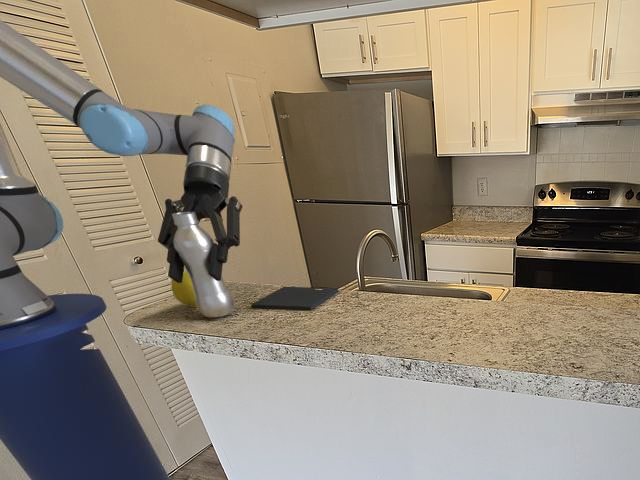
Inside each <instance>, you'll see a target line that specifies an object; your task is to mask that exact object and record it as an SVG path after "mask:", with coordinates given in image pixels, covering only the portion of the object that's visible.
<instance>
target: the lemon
mask: <svg viewBox="0 0 640 480" xmlns="http://www.w3.org/2000/svg"><path fill="white" fill-rule="evenodd" d="M170 285H171V286H170V287H171V291H172V294H173V296H174V297H175V299H176V300H177V301H178V302H179V303H181V304H182V305H185V306H190V307H192V308H198V307H197V304H196V299H195V296H196V295H195V292H194V289H193V285H192V282H191V279H190V276H189V273H188V272H187V271H186V272H185V271H184V272H183V279H182V283H177V282H176V281H174V280H173V279H171V283H170Z"/></svg>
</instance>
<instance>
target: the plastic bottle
mask: <svg viewBox="0 0 640 480" xmlns="http://www.w3.org/2000/svg"><path fill="white" fill-rule="evenodd" d="M172 217H173V219H174V224H175V225H177V227H178V229H177V231H176V233H175V236H174V240H173V242H174V247H175V249H176V250H177V253H178V254H179V256H180V258H181V260H182V262H183V263H184V268H185V269H186V272H187V273H189V276H190V279H191V282H192V285H193V289H194V292H195V295H196V296H195V299H196V304H197V307H196V308H197V309H198V311H199V312H200V314H201V315H203V316H204V317H206V318H220V317H224V316H227V315H230V314H231V313H233V312H234V311H235V308H236V304H235V300H234V296H233V295H232V293H231V291H230V290H229V289H228V286H227V284H226V282H225V280H224V277H223V275H222V276H221V281H216V280H215V279H214V278H213V277H211V276H210V275H209V274H208V273H209V265H210V256H211V247H212V243H215V240H214V239H213V238H212V236H211V235H210V234H209V233H208V232H207V231H206V230H205V229H203V228H202V227H201V226H200V225H199V224H200V222H199V221H198V219H197V216H196V213H195V212H180V213H174V214H172ZM198 223H199V224H198Z"/></svg>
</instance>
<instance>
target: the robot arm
mask: <svg viewBox="0 0 640 480" xmlns="http://www.w3.org/2000/svg"><path fill="white" fill-rule="evenodd" d="M0 78H1V79H3V80H5V81H7V82H8V83H9V84H11V85H12V86H14V87H15V88H16V89H18V90H20V91H21V92H23V93H25V94H26V95H28V96H29V97H31V98H33V99H34V100H35V101H37V102H39V103H41V104H42V105H43V106H45V107H47V108H49V109H50V110H52V111H53V112H55V113H56V114H58V115H60V116H61V117H62V118H63V119H66V120H67V121H68V122H71V123H72V124H73V125H75V126H76V127H78V128H80V129H81V130H82V134H83V135H84V136H85V137H86V139H87V140H88V141H89V142H90V143H91V144H92V145H93V146H94V147H95V148H97V149H99V150H100V151H102V152H104V153H107V154H110V155H114V156H115V155H116V156H120V157H136V156H143V155H162V154H163V155H175V156H186V161H185V170H184V176H183V182H182V183H183V184H182V185H183V193H182V196H181V197H180V199H177V200H172V199H171V198H167V199H165V200H164V204H165V206H164V207H165V212H164V215H163V219H162V223H161V227H160V230H159V234H158V238H157V242H158V243H159V244H160V245H161V246H163V247H164V248H165V249H166V250H167V255H166V262H167V263H168V264H169V265H168V274H167V277H168V278H169V279H171V280H172V279H173V280H174V281H176V282H177V283H182V279H183V272H185V265H184V263H183V262H182V260H181V258H180V256H179V254H178V253H177V250H176V249H175V247H174V242H173V240H174V236H175V233H176V231H177V229H178V227H177V225H175V224H174V219H173V217H172V214H174V213H180V212H195V213H196V216H197V219H198V221H199V223H198V225H199V224H200V222H201V220H203V219H209V221H210V224H211V227H212V230H213V233H214V243H212V247H211V256H210V265H209V273H208V274H209V275H210V276H211V277H213V278H214V279H215V280H216V281H221V276H222V277H223V275H222V274H223V265H224V264H226V263H227V262H228V257H229V250H230V248H231V247H239V246H240V245H241V229H240V228H241V225H240V224H241V221H240V219H241V218H240V214H241V212H242V210H243V205H242V203H241V202H240V200H239V199H238V198H237V197H236V196H234V195H232V196H230V197H229V192H230V180H231V171H232V161H233V153H234V147H235V146H234V145H235V141H236V139H235V123H234V121H233V119H232V118H231V116H230V115H229V114H228V113H227V112H226V111H224V110H223V109H221V108H220V107H217V106H214V105H211V104H201V105H198V106H196V107H195V108H194V110H193V112H192V114H191V115H189V114H174V113H168V112H167V113H166V112H159V111H150V110H145V109H137V108H131V107H127V106H125V105H124V104H122V103H121V102H119V101H118V100H117V99H115V98H114V97H112V96H111V95H110V94H108V93H106V92H105V91H103V90H102V89H101V88H99V87H98V86H97V85H95V84H94V83H92V82H91V81H89V80H88V79H87V78H86V77H84V76H82V75H81V74H79V73H78V72H76V71H75V70H73V68H71V67H69V66H67V65H66V64H65V63H63V62H62V61H60V60H59V59H57V57H55V56H53V55H52V54H51V53H49V52H48V51H46V50H45V49H44V48H43V47H40V46H39V45H37V44H36V43H35V42H34V41H32V40H30V39H29V38H27V37H26V36H25V35H23V34H22V33H21V32H19V31H17V30H16V29H15V28H13V27H12V26H10V25H9V24H8V23H6V22H5V21H3V20H2V19H0ZM225 208H226V229H225V225H224V218H223V216H222V211H224V210H225ZM63 230H64V219H63V217H62V214H61V212H60V210H59V208H58V207H57V206H56V205H55V204H54V202H52V201H50V200H48V198H47V197H46V196H44V195H42V194H40V192H39V189H38V187H37V185H36V182H34V181H32V180H31V179H29V178H27V177H25V176H24V175H23V174H22V173H21V170H20V168H19V165H18V163H17V160H16V158H15V155H14V152H13V151H12V148H11V146H10V143H9V140H8V137H7V135H6V133H5V130H4V128H3V126H2V123H1V122H0V330H4V329H9V328H13V327H17V326H20V325H24V324H27V323H30V322H34V321H36V320H39V319H42V318H44V317H46V316H48V315H50V314H52V313H54V312H55V311H56V309H57V308H56V306H55V304H54V303H53V301H52V300H51V299H50V298H49V297H48V294H46V293H45V292H44V291H43V290H42V289H41V288H39V287H38V286H37V285H36V284H35V283H34V282H32V280H30V279H29V278H28V276H26V275H25V274H24V273H23V271H22V269H21V268H20V265H19V264H18V262H17V261H16V258H15V257H16V256H19V255H22V254H25V253H27V252H31V251H32V252H33V251H37V250H42V249H44V248H45V247H47V246H49V245H51V244H53V243H55V242H56V241H57V240H58V239H59V238H60V237H61V235H62V233H63Z"/></svg>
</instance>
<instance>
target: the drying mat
mask: <svg viewBox="0 0 640 480" xmlns="http://www.w3.org/2000/svg"><path fill="white" fill-rule="evenodd" d="M315 289H323V290H315ZM337 293H339V288H338V287H311V286H310V287H309V286H282V287H281V288H278V289H277V290H275V291H273V292H271V293H270V294H267V295H266V296H264V297H262V298H260V299H259V300H257V301H255V302H252V303H251V304H250V306H251V308H252V309H270V310H297V311H299V310H300V311H314V309H316V308H317V307H318V306H320V305H321V304H323V303H325V302H326V301H327V300H329V299H330V298H331V297H333V296H334V295H336V294H337Z"/></svg>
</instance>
